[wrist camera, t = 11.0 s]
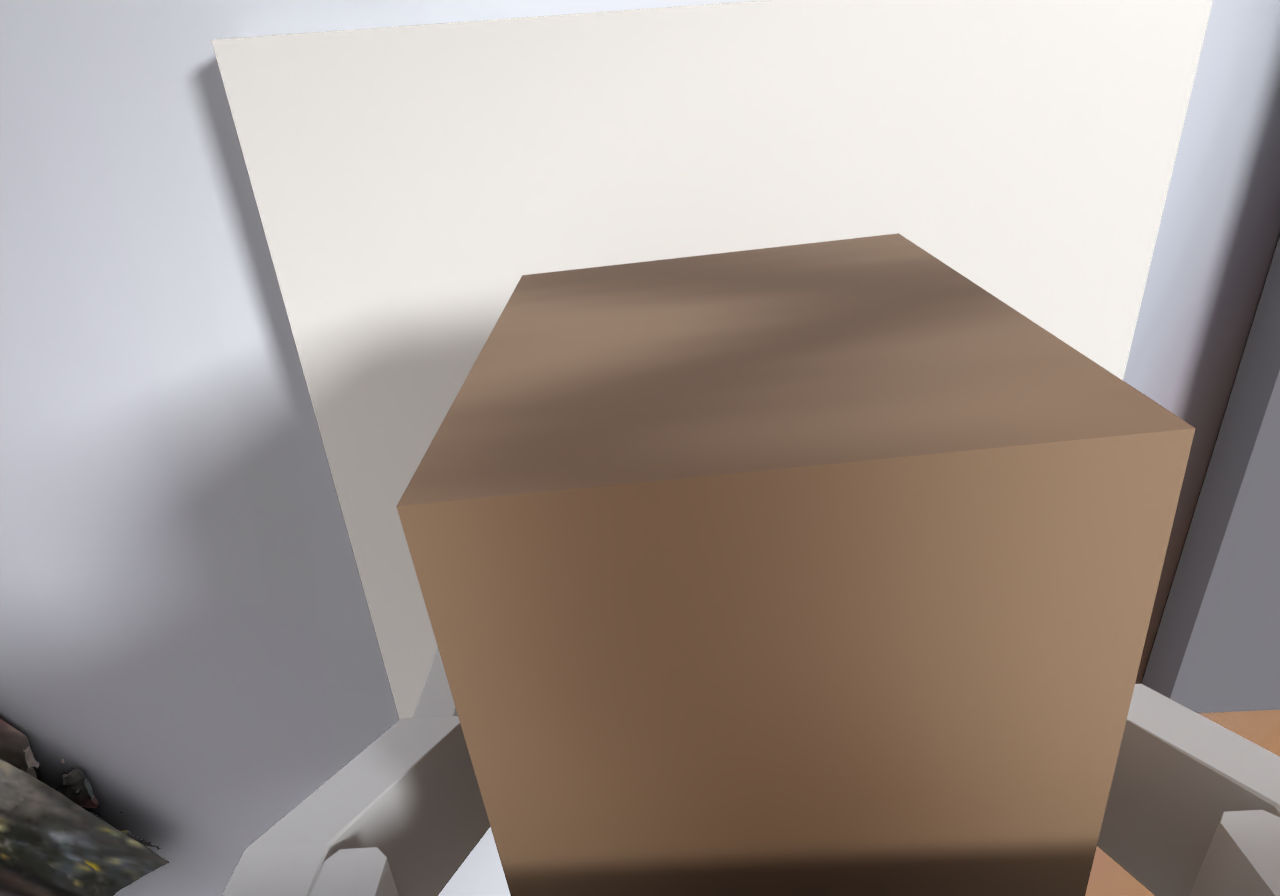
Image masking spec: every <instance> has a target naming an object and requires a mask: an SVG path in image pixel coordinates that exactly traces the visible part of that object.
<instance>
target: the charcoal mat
mask: <svg viewBox="0 0 1280 896" xmlns="http://www.w3.org/2000/svg"><path fill="white" fill-rule="evenodd" d="M1142 684H1143V685H1145V686H1147V687H1149V688H1150V689H1152V690H1154V691H1156V692H1158V693H1160V694H1162V695H1164V696H1166V697H1167V698H1169V699H1171V700H1173V701H1175V702H1177V703H1179V704H1181V705H1183V706H1184V707H1186V708H1188V709H1190V710H1192V711H1194V712H1196V713H1210V712H1233V711H1256V710H1278V709H1280V236H1279V239H1278V243H1277V246H1276V249H1275V252H1274V256H1273V259H1272V262H1271V265H1270V269H1269V272H1268V275H1267V278H1266V282H1265V285H1264V288H1263V291H1262V295H1261V298H1260V301H1259V304H1258V308H1257V311H1256V314H1255V317H1254V321H1253V324H1252V327H1251V330H1250V333H1249V337H1248V340H1247V343H1246V346H1245V350H1244V353H1243V356H1242V359H1241V363H1240V366H1239V369H1238V372H1237V376H1236V379H1235V382H1234V385H1233V389H1232V392H1231V395H1230V398H1229V402H1228V405H1227V408H1226V411H1225V415H1224V418H1223V421H1222V424H1221V428H1220V431H1219V434H1218V437H1217V441H1216V444H1215V447H1214V450H1213V454H1212V457H1211V460H1210V463H1209V466H1208V470H1207V473H1206V476H1205V479H1204V483H1203V486H1202V489H1201V492H1200V496H1199V499H1198V502H1197V505H1196V509H1195V512H1194V515H1193V518H1192V522H1191V525H1190V528H1189V531H1188V535H1187V538H1186V541H1185V544H1184V548H1183V551H1182V554H1181V557H1180V561H1179V564H1178V567H1177V570H1176V574H1175V577H1174V580H1173V583H1172V587H1171V590H1170V593H1169V596H1168V600H1167V603H1166V606H1165V609H1164V612H1163V616H1162V619H1161V622H1160V625H1159V629H1158V632H1157V635H1156V638H1155V642H1154V645H1153V648H1152V651H1151V655H1150V658H1149V661H1148V664H1147V668H1146V671H1145V674H1144V677H1143V681H1142Z"/></svg>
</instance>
